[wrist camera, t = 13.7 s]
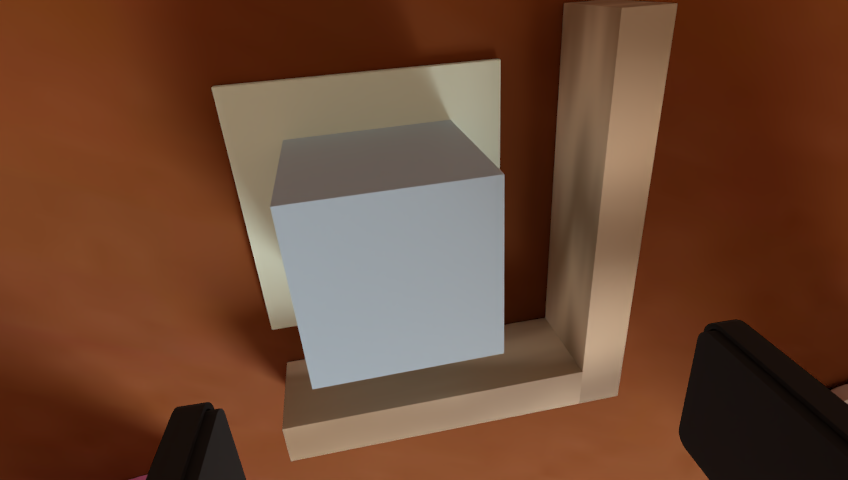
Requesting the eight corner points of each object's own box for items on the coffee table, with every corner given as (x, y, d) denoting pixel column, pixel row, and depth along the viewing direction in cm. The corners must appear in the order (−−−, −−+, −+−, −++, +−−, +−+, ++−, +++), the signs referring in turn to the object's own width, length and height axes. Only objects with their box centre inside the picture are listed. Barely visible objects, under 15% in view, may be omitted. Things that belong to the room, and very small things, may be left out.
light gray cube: (450, 119, 17) (504, 174, 12) (457, 261, 20) (504, 353, 15) (283, 140, 16) (270, 207, 11) (312, 284, 19) (312, 389, 14)
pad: (496, 288, 21) (499, 292, 21) (272, 325, 20) (271, 329, 19) (497, 58, 17) (500, 59, 16) (212, 85, 15) (211, 87, 15)
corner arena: (577, 340, 23) (617, 395, 20) (294, 391, 21) (291, 460, 18) (609, -1, 16) (677, 3, 13) (206, 32, 15) (178, 45, 12)
